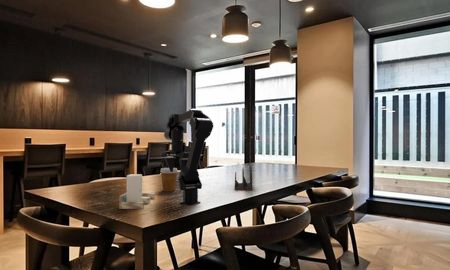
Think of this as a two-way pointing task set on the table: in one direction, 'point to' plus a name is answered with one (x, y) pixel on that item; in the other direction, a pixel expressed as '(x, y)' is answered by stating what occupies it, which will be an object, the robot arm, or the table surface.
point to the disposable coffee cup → (168, 179)
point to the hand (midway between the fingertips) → (177, 172)
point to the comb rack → (135, 205)
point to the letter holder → (244, 181)
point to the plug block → (134, 188)
